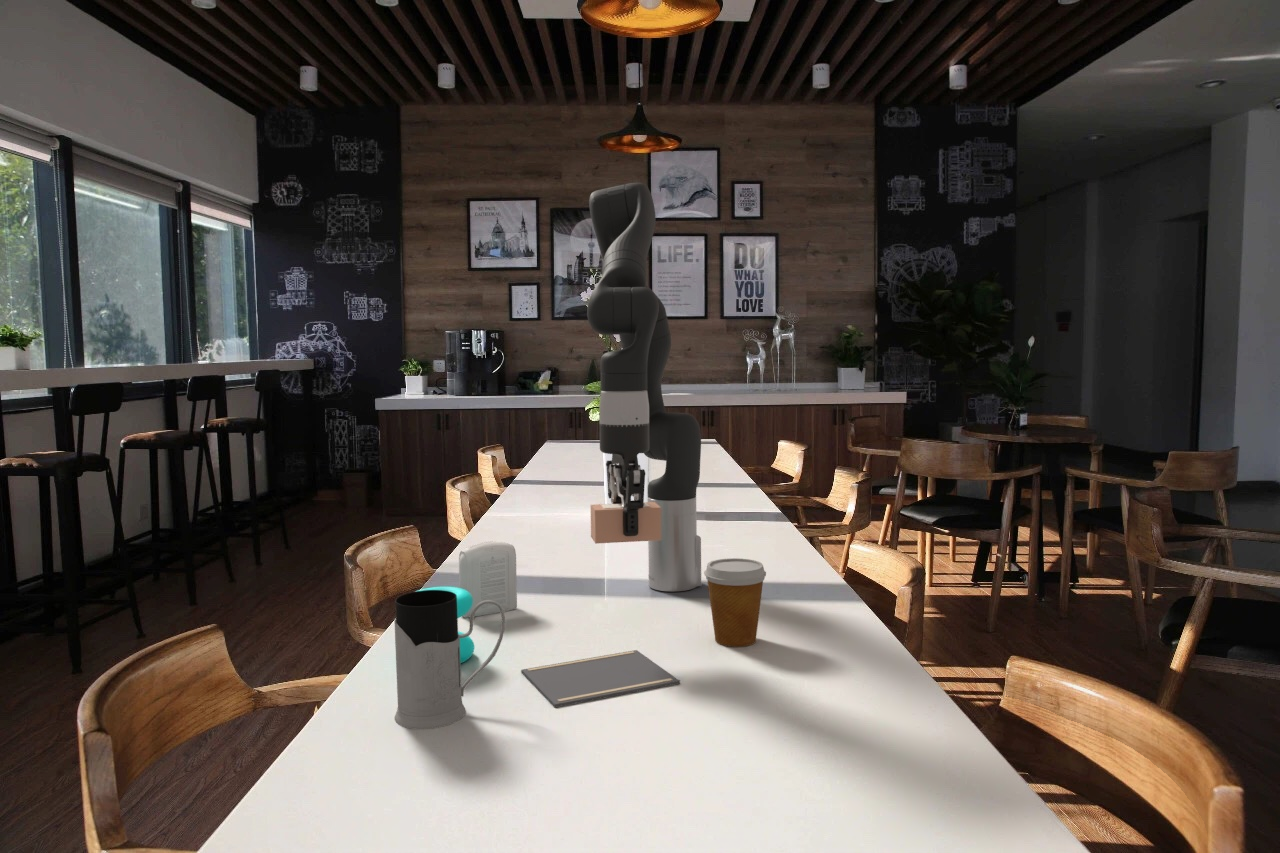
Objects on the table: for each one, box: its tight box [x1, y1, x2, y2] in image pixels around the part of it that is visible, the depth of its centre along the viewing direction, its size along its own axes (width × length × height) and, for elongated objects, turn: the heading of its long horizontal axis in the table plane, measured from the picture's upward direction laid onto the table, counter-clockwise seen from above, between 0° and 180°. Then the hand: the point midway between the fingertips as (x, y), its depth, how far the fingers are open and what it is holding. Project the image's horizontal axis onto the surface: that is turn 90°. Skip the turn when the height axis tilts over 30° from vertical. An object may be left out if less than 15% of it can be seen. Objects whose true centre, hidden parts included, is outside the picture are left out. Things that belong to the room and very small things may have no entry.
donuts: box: [414, 586, 475, 664], centre depth 134 cm, size 10×10×10 cm
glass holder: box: [393, 590, 506, 730], centre depth 115 cm, size 9×14×15 cm, turn 112°
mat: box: [520, 649, 681, 708], centre depth 126 cm, size 18×14×1 cm
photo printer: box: [458, 540, 518, 619], centre depth 158 cm, size 10×4×12 cm, turn 123°
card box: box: [590, 501, 661, 544], centre depth 138 cm, size 10×5×5 cm, turn 101°
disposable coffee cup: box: [703, 557, 767, 648], centre depth 140 cm, size 10×10×12 cm
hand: (625, 531), depth 138 cm, fingers closed on card box, 5 cm apart
